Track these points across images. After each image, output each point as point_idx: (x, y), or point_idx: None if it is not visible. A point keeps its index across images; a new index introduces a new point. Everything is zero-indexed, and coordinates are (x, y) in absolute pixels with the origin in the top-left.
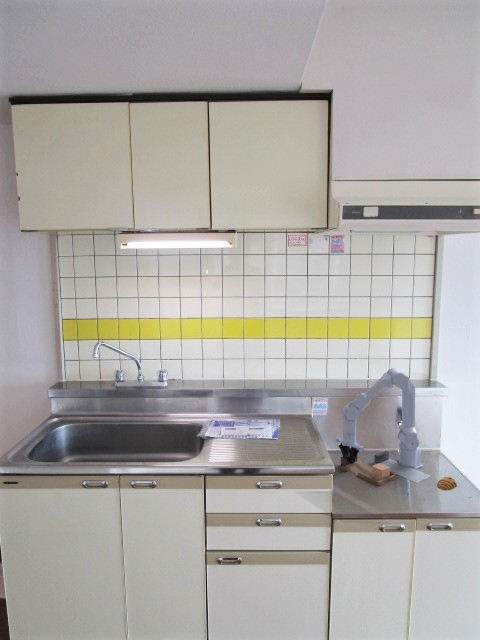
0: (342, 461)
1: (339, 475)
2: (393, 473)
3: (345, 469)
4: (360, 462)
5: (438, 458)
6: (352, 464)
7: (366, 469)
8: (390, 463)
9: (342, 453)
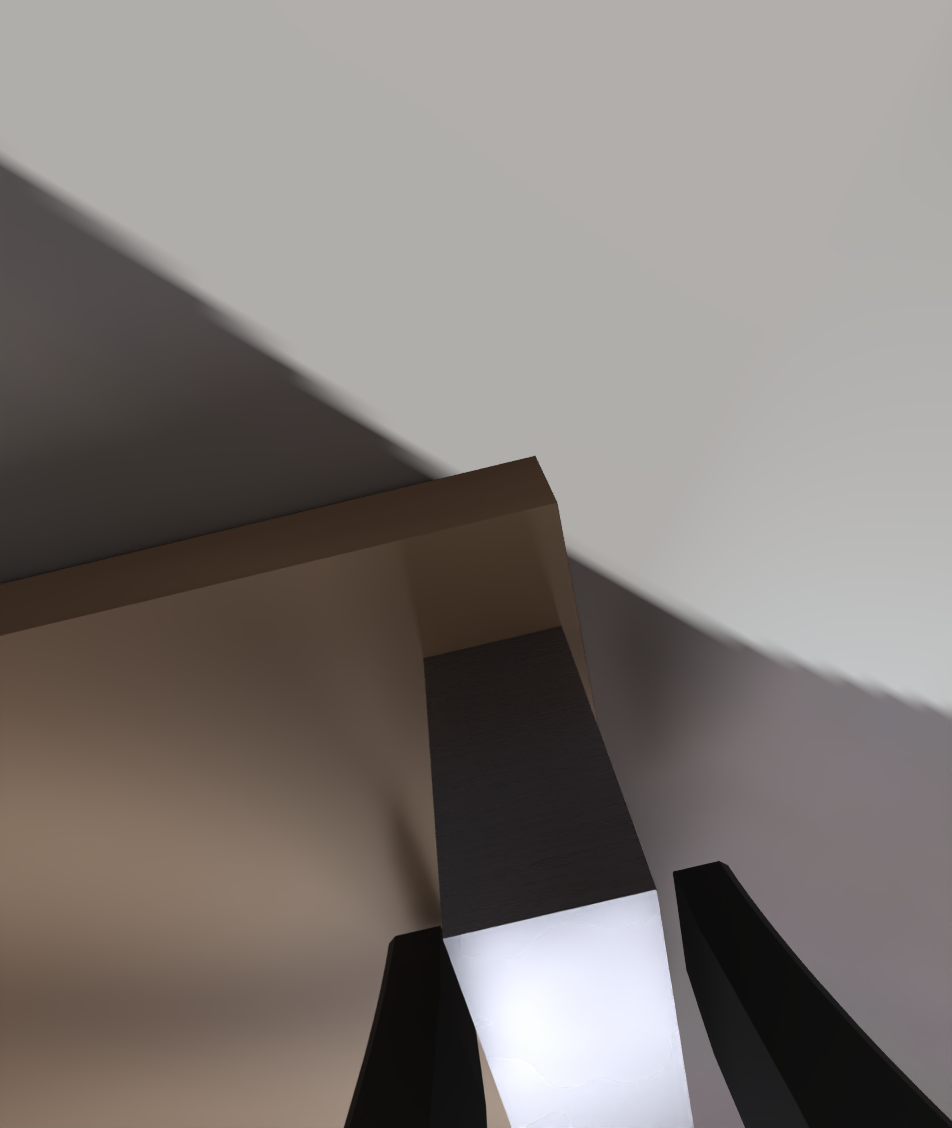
0: (492, 777)
1: (33, 210)
2: None
3: (164, 607)
4: None
5: None
6: None
7: (16, 1093)
8: None
9: (898, 1114)
